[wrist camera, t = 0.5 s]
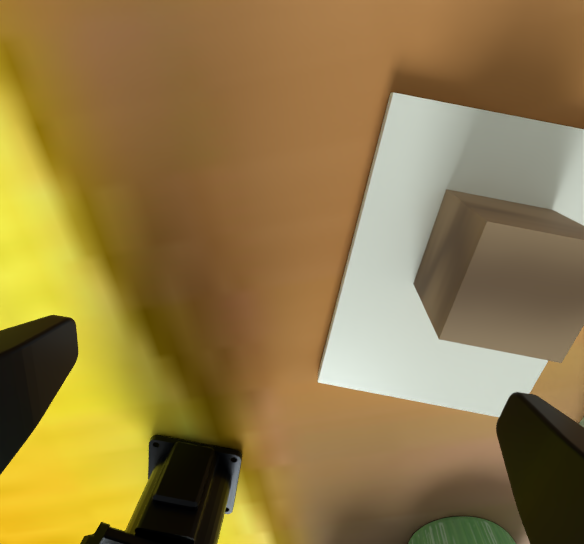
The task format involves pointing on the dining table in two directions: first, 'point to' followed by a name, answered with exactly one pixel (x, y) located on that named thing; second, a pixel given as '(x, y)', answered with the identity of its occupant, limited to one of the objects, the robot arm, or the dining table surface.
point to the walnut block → (504, 276)
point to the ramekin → (461, 532)
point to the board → (413, 240)
